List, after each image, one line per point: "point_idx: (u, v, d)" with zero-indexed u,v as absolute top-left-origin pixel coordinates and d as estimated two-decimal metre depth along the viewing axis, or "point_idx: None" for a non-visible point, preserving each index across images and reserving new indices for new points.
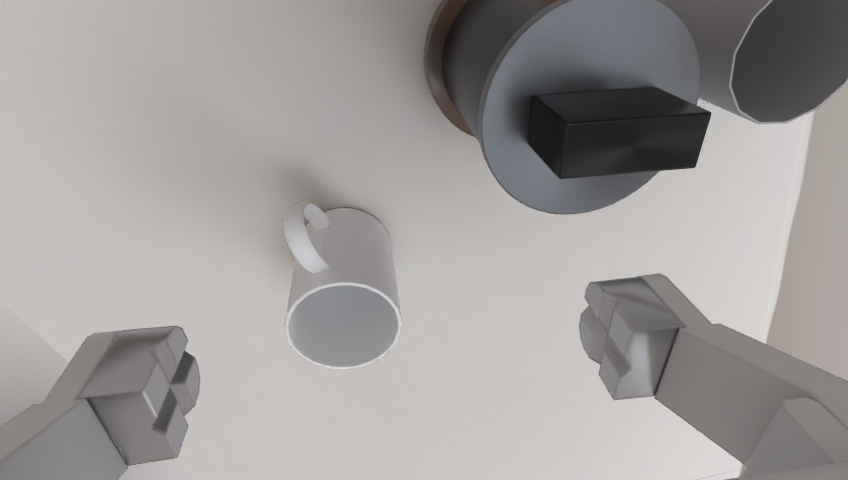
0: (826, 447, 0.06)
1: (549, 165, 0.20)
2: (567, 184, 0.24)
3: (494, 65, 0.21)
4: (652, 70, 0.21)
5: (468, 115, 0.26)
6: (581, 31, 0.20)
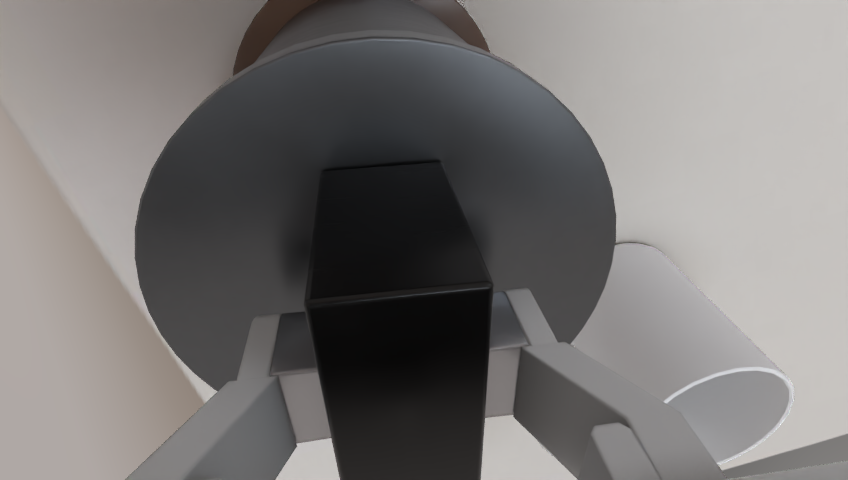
0: (619, 478, 0.06)
1: None
2: (536, 295, 0.11)
3: None
4: (285, 191, 0.09)
5: None
6: (233, 340, 0.11)
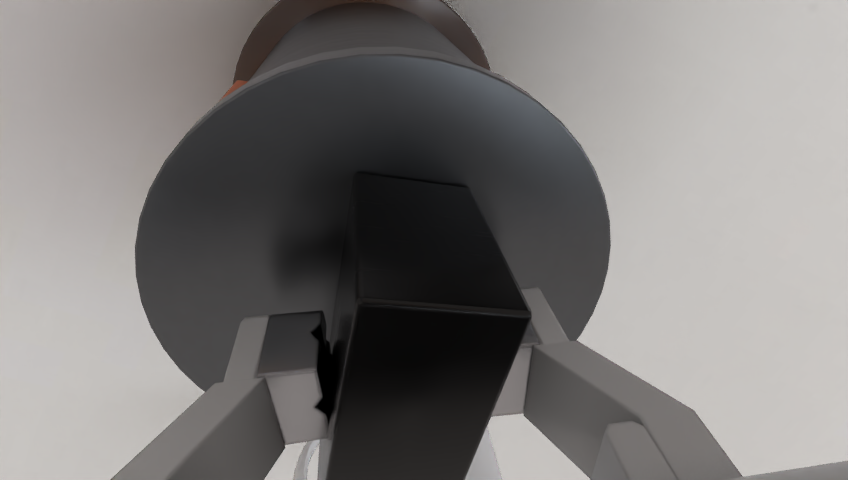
0: (634, 476, 0.06)
1: None
2: None
3: None
4: (313, 184, 0.09)
5: None
6: (215, 321, 0.11)
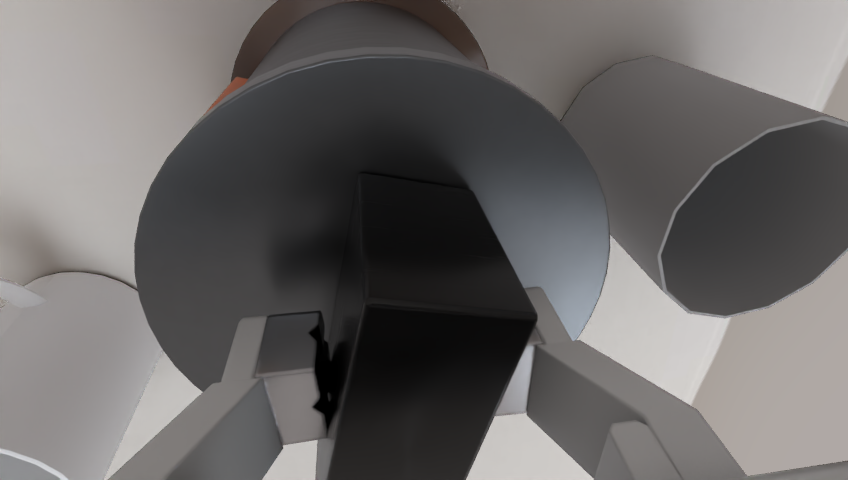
0: (638, 475, 0.06)
1: None
2: None
3: None
4: (316, 184, 0.09)
5: None
6: (214, 320, 0.10)
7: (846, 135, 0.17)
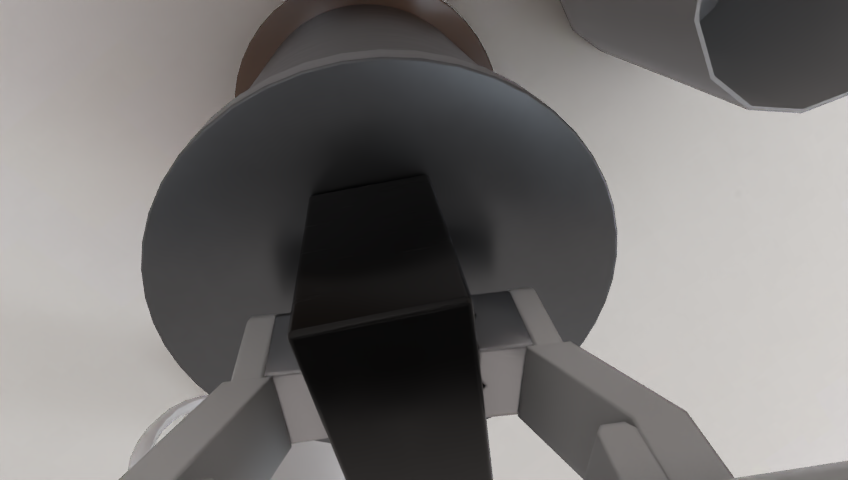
0: (625, 477, 0.06)
1: None
2: (542, 294, 0.11)
3: None
4: (277, 219, 0.09)
5: None
6: None
7: None
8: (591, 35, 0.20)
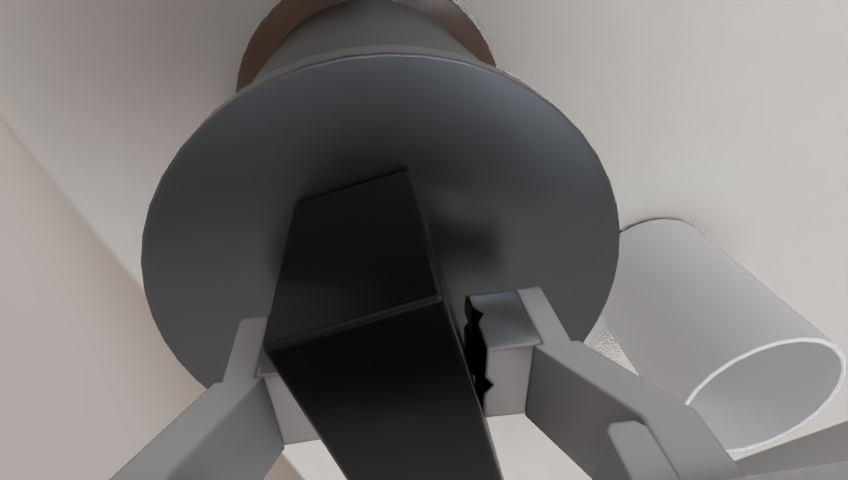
0: (636, 476, 0.06)
1: None
2: (546, 278, 0.11)
3: None
4: (266, 229, 0.09)
5: None
6: None
7: None
8: None
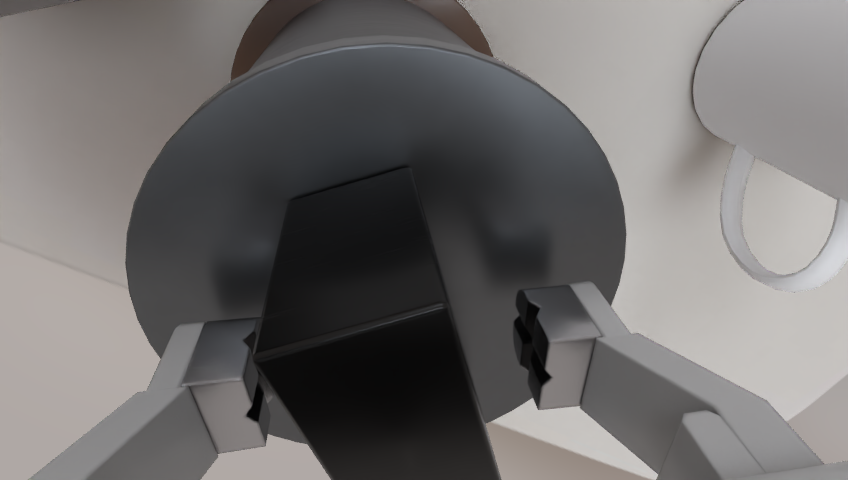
0: (718, 463, 0.06)
1: None
2: (549, 281, 0.11)
3: None
4: (258, 228, 0.09)
5: None
6: None
7: None
8: None
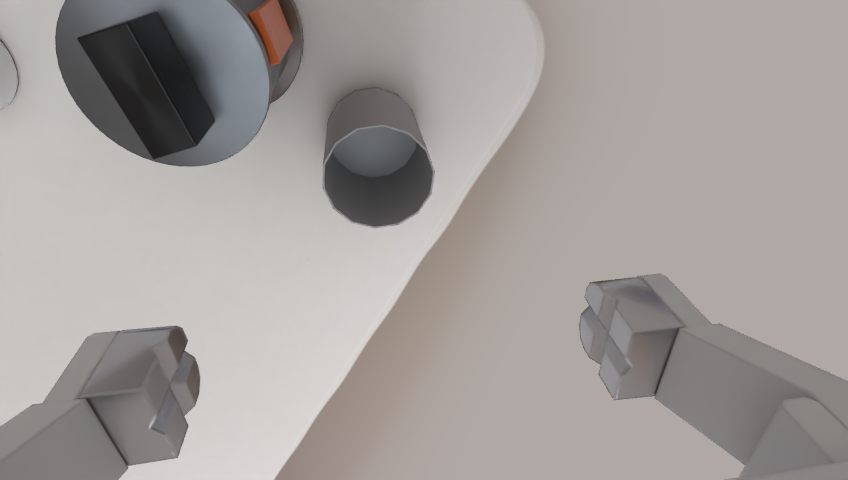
0: (826, 447, 0.06)
1: (90, 32, 0.22)
2: (99, 82, 0.25)
3: None
4: (224, 110, 0.27)
5: None
6: (223, 34, 0.25)
7: None
8: (327, 127, 0.41)
